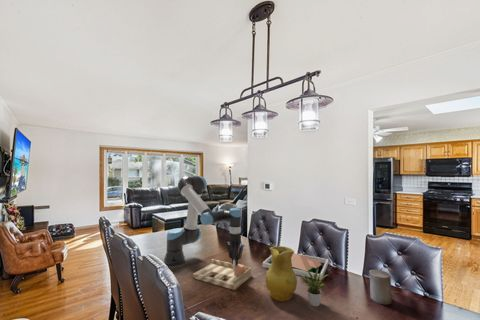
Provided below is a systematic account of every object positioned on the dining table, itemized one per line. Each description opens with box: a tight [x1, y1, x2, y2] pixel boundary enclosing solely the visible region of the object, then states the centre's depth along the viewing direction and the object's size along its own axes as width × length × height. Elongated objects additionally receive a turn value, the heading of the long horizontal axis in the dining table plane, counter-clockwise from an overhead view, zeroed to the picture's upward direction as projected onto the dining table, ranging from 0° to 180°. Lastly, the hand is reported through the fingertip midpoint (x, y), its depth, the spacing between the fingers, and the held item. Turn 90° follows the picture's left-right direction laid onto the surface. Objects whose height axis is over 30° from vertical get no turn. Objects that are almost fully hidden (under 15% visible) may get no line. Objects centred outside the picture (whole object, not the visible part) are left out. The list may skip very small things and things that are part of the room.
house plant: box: [301, 268, 328, 307], centre depth 120 cm, size 14×14×16 cm
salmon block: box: [234, 263, 246, 276], centre depth 147 cm, size 5×5×5 cm
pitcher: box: [265, 245, 298, 302], centre depth 128 cm, size 17×19×25 cm
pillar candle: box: [369, 269, 393, 305], centre depth 123 cm, size 10×10×15 cm
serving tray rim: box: [262, 252, 329, 281], centre depth 167 cm, size 40×30×3 cm
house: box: [291, 252, 323, 273], centre depth 167 cm, size 23×33×8 cm
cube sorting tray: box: [192, 258, 252, 291], centre depth 148 cm, size 31×21×5 cm
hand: (235, 269), depth 148 cm, fingers closed
